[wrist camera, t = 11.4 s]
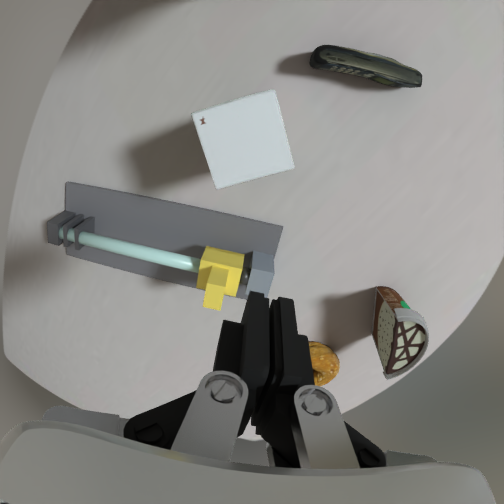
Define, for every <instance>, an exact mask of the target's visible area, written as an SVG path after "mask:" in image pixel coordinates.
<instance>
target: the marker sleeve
mask: <svg viewBox="0 0 504 504" xmlns="http://www.w3.org/2000/svg"><path fill="white" fill-rule="evenodd" d="M244 255H245V254H240V253H236V252H232V251H227V250H223V249H218V248H214V247H209V246H206V248H205V251H204V253H203V256H202V258H201V261H200V267H199V273H198V279H197V285H196V288H198V289H203V290H206V291H205V297H204V303H203V307H206V308H211V309H215V310H221V305H222V300H223V296H224V294H225V295H229V296H234V297H236V293H237V289H238V285H239V281H240V277H241V273H242V269H243V262H244Z"/></svg>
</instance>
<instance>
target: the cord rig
mask: <svg viewBox="0 0 504 504" xmlns="http://www.w3.org/2000/svg"><path fill="white" fill-rule="evenodd" d="M282 230H283V226H279V225H274V224H270V223H266V222H262V221H257V220H253V219H249V218H244V217H240V216H235V215H231V214H227V213H222V212H218V211H213V210H208V209H204V208H199V207H195V206H190V205H185V204H181V203H176V202H171V201H166V200H161V199H156V198H152V197H147V196H142V195H137V194H132V193H126V192H121V191H116V190H111V189H106V188H100V187H95V186H90V185H84V184H79V183H73V182H66V205H65V211H64V212H62V213H61V214H59V215H57V216H56V217H54V218H53V219H51V220H49V221H48V222H47V232H48V243H51V244H55V245H58V246H59V245H60V244H61V243H62V242H64V247H66V249H67V255H70V256H73V257H77V258H80V259H84V260H87V261H91V262H95V263H98V264H102V265H106V266H109V267H113V268H117V269H120V270H124V271H128V272H132V273H136V274H140V275H144V276H147V277H151V278H155V279H159V280H163V281H167V282H172V283H176V284H180V285H184V286H188V287H192V288H196V285H197V279H198V273H199V267H200V261H201V258H202V256H203V253H204V251H205V248H206V246H209V247H214V248H218V249H223V250H227V251H232V252H236V253H240V254H245V255H244V262H243V269H242V273H241V277H240V281H239V285H238V289H237V293H236V297H237V298H241V299H246V300H247V298H248V295H249V292H250V291H255V292H259V293H264V297H265V298H267V296H268V293H269V290H270V286H271V283H272V280H273V277H274V257H275V254H276V250H277V247H278V243H279V240H280V237H281V233H282ZM197 289H198V288H197ZM201 290H203V289H201ZM205 291H206V290H205ZM224 295H225V294H224ZM228 296H229V295H228ZM232 297H234V296H232Z"/></svg>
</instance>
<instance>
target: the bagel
mask: <svg viewBox="0 0 504 504" xmlns="http://www.w3.org/2000/svg"><path fill="white" fill-rule="evenodd" d="M309 348H310V355H311V362H312V368H313V375H314V382H315V385H316V386H322V385H325V384H327V383H329V382H330V381H331V380H332V379H333V378H334V377H335V376H336V375H337V373H338V372H339V368H340V366H339V364H340V362H339V359H338V357H337V355H336V354H335V353H333V351H332V350H331V349H330V348H329V347H327V346H326V345H323V344H321V343H319V342H309Z"/></svg>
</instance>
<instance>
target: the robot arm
mask: <svg viewBox="0 0 504 504" xmlns="http://www.w3.org/2000/svg"><path fill="white" fill-rule="evenodd" d="M250 417H251V425H252V426H256V434H257V435H261V437H262V438H263V439H264V440H265V441H266V442H267V448H266V449H267V456H268V462H269V466H260V465H251V464H242V463H235V462H230V458H231V454H232V451H233V448H234V444H235V441H236V438H237V437H239V436H240V435H242V434H243V432H244V430H245V428H246V426H247V424H248V422H249V420H250ZM0 504H496V502H495V499H494V496H493V494H492V491H491V489H490V486H489V484H488V482H487V481H486V479H485V477H484V476H483V474H482V473H481V472H480V471H479V470H478V469H476V468H474V467H471V466H469V465H465V464H460V463H454V462H437V461H436V460H435V459H433V458H432V457H430V456H425V455H418V454H410V453H402V452H396V451H389V450H387V451H386V452H382V450H381V449H379V448H378V447H377V446H376V445H375V444H373V443H372V442H371V441H369V440H368V439H367V438H365V437H364V436H363V435H361V434H360V433H359V432H358V431H356V430H355V429H354V428H352V427H351V426H350V425H348V424H347V423H346V422H345V421H343V418H342V415H341V412H340V410H339V407H338V404H337V401H336V399H335V398H334V396H333V395H332V394H331V393H330V392H329V391H328V390H326V389H325V388H322V387H320V386H316V385H315V382H314V375H313V368H312V362H311V355H310V348H309V342H308V338H307V336H305V335H299V334H298V331H297V323H296V315H295V308H294V301H293V299H288V298H283V297H278V299H277V300H274V299H273V300H272V302H271V305H270V308H269V298H265V297H264V293H259V292H255V291H250V292H249V295H248V298H247V302H246V306H245V310H244V313H243V317H242V321H241V323H237V322H232V321H227V320H223V324H222V328H221V333H220V337H219V342H218V346H217V351H216V357H215V362H214V367H213V372H210V373H208V374H207V375H205V376H204V377H203V379H202V380H201V382H200V384H199V386H198V389H197V390H196V391H194V392H191V393H189V394H187V395H185V396H182V397H180V398H178V399H175V400H173V401H171V402H168V403H166V404H163V405H161V406H159V407H156V408H154V409H151V410H149V411H146V412H144V413H141V414H139V415H136V416H134V417H132V418H131V419H125V418H120V417H119V415H115V414H108V413H101V412H94V411H88V410H82V409H76V408H71V407H66V406H55V407H52V408H50V409H49V410H47V411H46V412H45V414H44V416H43V418H42V420H39V421H28V422H23V423H21V424H18V425H17V426H15V427H13V428H12V429H11V430H10V431H9V432H8V433H7V434H6V435H5V437H4V438H3V439H2V440H1V441H0Z"/></svg>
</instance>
